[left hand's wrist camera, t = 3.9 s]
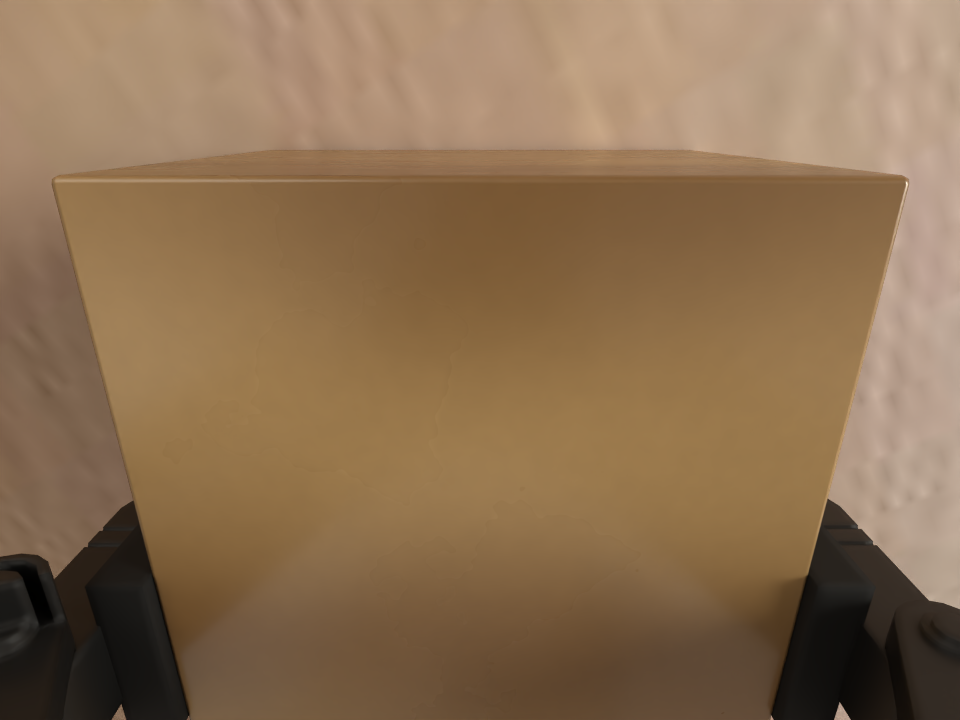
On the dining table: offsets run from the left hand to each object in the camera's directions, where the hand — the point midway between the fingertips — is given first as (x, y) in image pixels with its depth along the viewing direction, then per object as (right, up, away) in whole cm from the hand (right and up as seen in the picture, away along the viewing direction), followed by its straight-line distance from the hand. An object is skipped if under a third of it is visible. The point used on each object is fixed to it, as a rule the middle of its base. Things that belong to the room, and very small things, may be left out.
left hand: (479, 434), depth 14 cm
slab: (0, -23, +10) cm, 25 cm away
